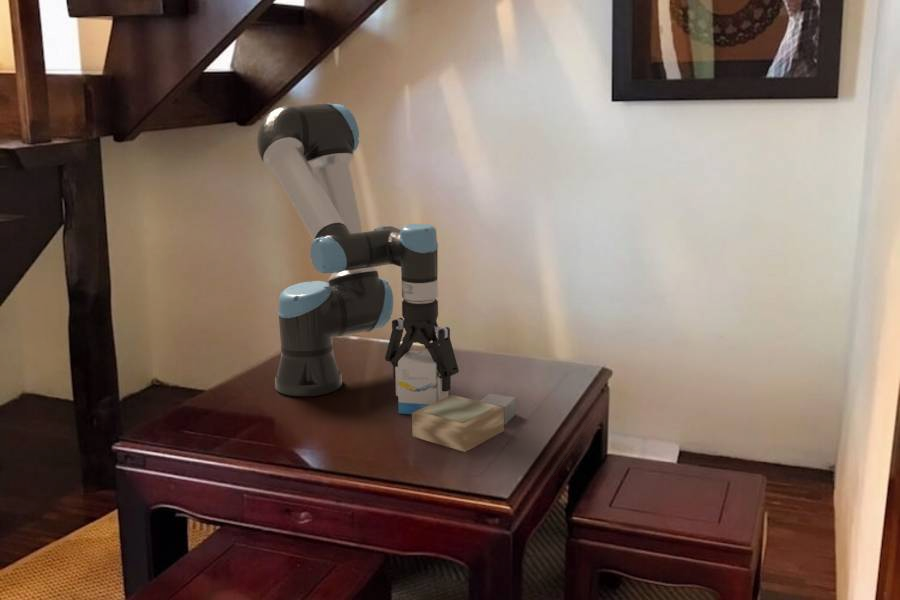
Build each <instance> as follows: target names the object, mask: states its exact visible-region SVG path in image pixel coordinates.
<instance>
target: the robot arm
mask: <svg viewBox="0 0 900 600" xmlns="http://www.w3.org/2000/svg"><path fill="white" fill-rule="evenodd" d="M256 136H257V137H256V145H257V146H256V147H257V151H258V153H259V154H258V155H259V156H260V159H261V161H262V162H263V165H264V166H265V168H267V170H269V171H272V172H273V173H274V175H275V176H276V177H277V180H278V182H279V183H280V185H281V187H282V188H283V190H284V192H285V193H286V195H287V197H288V199H289V200H290V202H291V205H292V206H293V208H294V209H295V211H296V213H297V215H298V216H299V218H300V219H301V221H302V224H303V225H304V227H305V229H306V230H307V232H308V233H309V235H310V237H311V239H312V241H311V244H310V248H309V256H310V259H311V264H312V266H313V267H314V269H315V270H316V271H317V272H318V273H320V274H330V277H329V278H328V279H327V280H328V282H326V281H323V280H322V281H321V280H313V281H304V282H299V283H296V284H293V285H290V286H288V287H286V288H285V289H284V290H282V291H281V292H280V294H279V297H278V310H277V314H278V319H279V320H278V321H279V324H278V325H279V335H280V351H281V352H280V353H281V355H280V358H279V363H278V366H277V367H278V368H277V373H276V374H275V378H274V388H275V390H276V391H277V392H278V393H280V394H282V395H286V396H292V397H314V396H316V397H317V396H322V395H326V394H330V393H333V392H335V391H337V390H338V389H340V388H341V387H342V385H343V376H342V372H341V370H340V368H339V365H338V362H337V359H336V356H335V353H334V346H333V345H334V344H333V338H339V337H344V336H349V335H356V334H360V333H369V332H372V331H374V330H378V329H382V328H384V327H385V326H386V325H388V323H389V322H390V320H391V318H392V315H393V310H394V295H393V290H392V287H391V285H389V281H387V280H386V279H385V278H382V277H379V272H378V269H376V268H375V267H381V266H388V265H393V266H394V265H395V266H396V267H400V270H401V271H400V273H401V277H400V278H401V297H402V299H403V300H402V302H401V315H402V317H399V318H395V319H393V320H392V321H391V334H390V337H389V341H388V345H387V349H386V353H385V356H384V360H385V361H386V362H389V363H391V365H392V372H393V373H392V375H393V376H392V378H393V379H394V380H395V396H396V397H398V361H399V360H400V359H401V358H402V356H403V355H404V354H405V353H407V352H409V351H411V348H412V346H413V344H414V343H418V344H420V345H423V346H424V347H425V348H426V349H427V350H428V351H429V353H430V355H431V357H432V359H433V361H434V362H436V363H437V369H438V371H439V373H440V376H438V377H437V397H438V401H439V400H441V399H443V398H446V397H448V396H449V391H450V390H451V387H452V384H451V383H452V382H451V381H452V380H451V378H452V376H454V375H456V374H458V373H459V371H460V370H459V366H458V363H457V362H458V361H457V359H456V355H455V352H454V348H453V343H452V341H451V340H452V339H451V329H450V327H449V326H446V327H441V326H439V325H438V322H437V319H438V317H439V301H438V297H439V284H438V283H439V280H438V274H439V273H438V271H439V270H438V268H439V267H438V265H439V264H438V262H439V261H438V259H439V257H438V253H439V252H438V248H439V244H438V239H437V238H438V235H437V229H436V227H435V226H434V225H432V224H427V223H426V224H424V223H412V224H410V223H409V224H406V225H402V227H401V228H400V229H399V228H398V227H394V226H393V225H389V226H387V225H379V226H377V227H376V228H374V229H373V230H371V231H369V230H368V231H364V230H363V228H362V222H361V221H362V220H361V217H360V213H359V208H358V203H357V198H356V193H355V187H354V183H353V179H352V174H351V169H350V165H351V164H350V163H352V161H353V159H354V152H355V151H356V150H357V149H358V147H359V142H360V140H359V138H360V129H359V125H358V122H357V120H356V118H355V116H354V114H353V112H352V111H351V110H350V109H349V108H348V107H346V106H345V105H342V104H339V103H328V102H324V103H321V104H298V105H284V106H279V107H277V108H275V109H273V110H272V111H270V112H269V113H268V114H267V115H266V116H265V117H264V119H262V121H261V124H260V126H259V129H258V130H257V135H256ZM404 330H405V331H404ZM404 332H405V334H404ZM403 334H404V336H403ZM401 341H402V342H401Z"/></svg>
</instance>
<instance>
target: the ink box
mask: <svg viewBox="0 0 900 600" xmlns="http://www.w3.org/2000/svg"><path fill="white" fill-rule="evenodd" d="M438 376H440V373H439V371H438V369H437V363H436V362H434V361H433V359H432V357H431V355H430V353H429V351H427V350H409V352H407V353H405V354H404V355H403V356H402V358H401V359H400V360H399V361H398V396H397V398H398V400H397V402H398V403H397V404H398V405H397V406H398V408H397V409H398V414H400V415H401V414H403V415H412V413H413V412H415V411H417V410H419V409H422V408H424V407H426V406H428V405H430V404H433V403H435V402H437V401H438V397H437V377H438Z"/></svg>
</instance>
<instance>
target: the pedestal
mask: <svg viewBox="0 0 900 600" xmlns="http://www.w3.org/2000/svg"><path fill="white" fill-rule="evenodd" d="M479 401H480V400H479ZM479 401H478V400H475V399H472V398H466V397H463V396H460V395H459V396H458V395H456V394H449V395H448V397H446V398H443V399H441V400H439V401H437V402H435V403H433V404H430V405H428V406H426V407H424V408H422V409H419V410H417V411H415V412H413V413H412V414H411V423H412V424H411V426H412V428H411V429H412V432H411V434H412V437H413V438H415V439H420V440H423V441H427V442H430V443H432V444H436V445H440V446H443V447H446V448H451V449H454V450H456V451H460V452H462V453H463V452H464V453H465V452H467V451H469V450H471V449H473V448H475V447H477V446H478V445H480V444H483V443H484V442H486V441H488V440H491V438H493V437H494V438H495V437H496V436H498V435H499V434H501V433H503V432H504V430H505V428H504V427H505V424H504V408H503V407H499V406H495V405H491V404H487V403H483V402H479Z"/></svg>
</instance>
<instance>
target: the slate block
mask: <svg viewBox="0 0 900 600" xmlns="http://www.w3.org/2000/svg"><path fill="white" fill-rule="evenodd" d="M516 401H517V399H516V397H513V396H507V395H503V394H501V395H500V394H494V393H488V394H487V395H485V396H484V397H483V398H482V399H481V400H479V402H483V403H487V404H491V405H495V406H499V407H503V408H504V425H506V424H507V423H508V422H510V420H512V419H513V418H514V416H516V415H517V413H516V412H517V411H516V408H517V407H516V406H517V405H516V404H517V402H516Z"/></svg>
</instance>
